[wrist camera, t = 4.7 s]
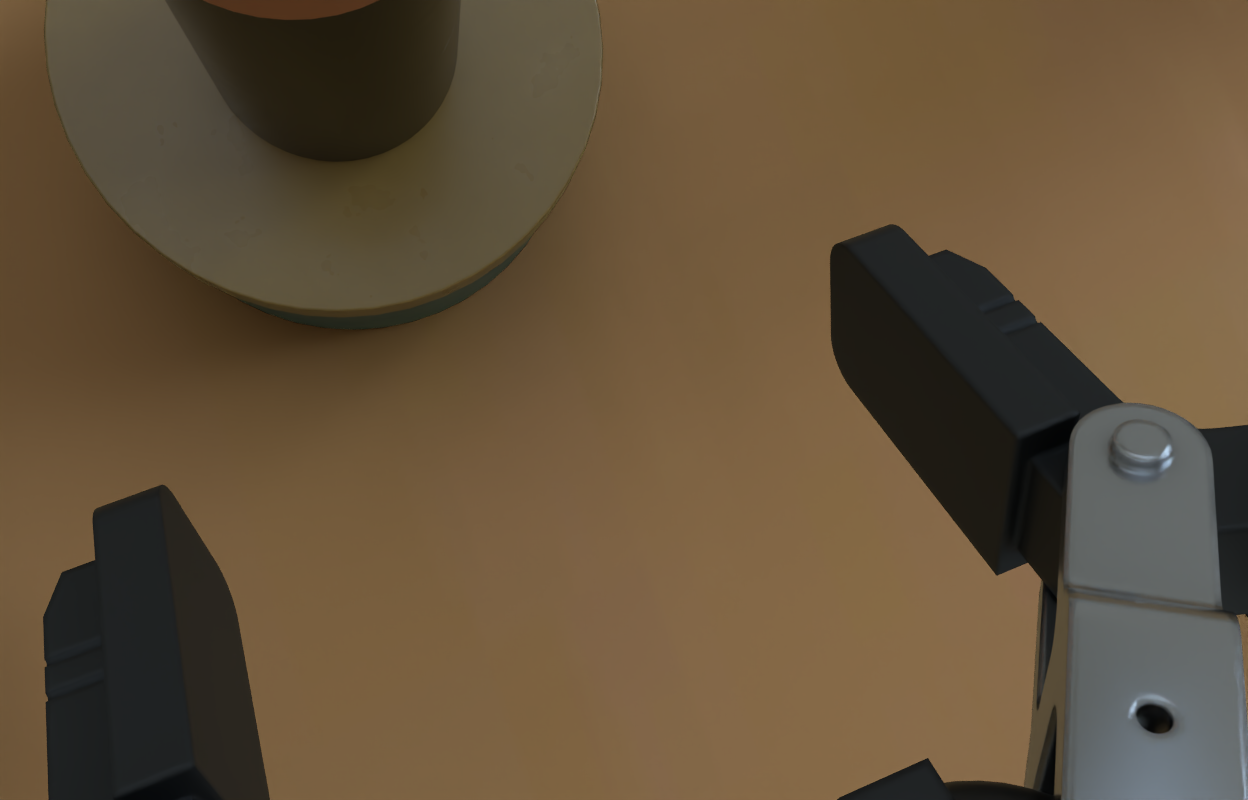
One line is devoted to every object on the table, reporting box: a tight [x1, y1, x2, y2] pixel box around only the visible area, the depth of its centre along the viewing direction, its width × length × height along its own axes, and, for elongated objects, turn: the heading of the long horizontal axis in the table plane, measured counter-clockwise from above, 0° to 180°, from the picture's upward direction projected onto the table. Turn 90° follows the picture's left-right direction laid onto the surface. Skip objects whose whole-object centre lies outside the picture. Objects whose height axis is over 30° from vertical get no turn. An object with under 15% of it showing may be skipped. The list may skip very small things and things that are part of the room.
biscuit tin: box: [44, 0, 603, 330], centre depth 30 cm, size 12×12×6 cm
